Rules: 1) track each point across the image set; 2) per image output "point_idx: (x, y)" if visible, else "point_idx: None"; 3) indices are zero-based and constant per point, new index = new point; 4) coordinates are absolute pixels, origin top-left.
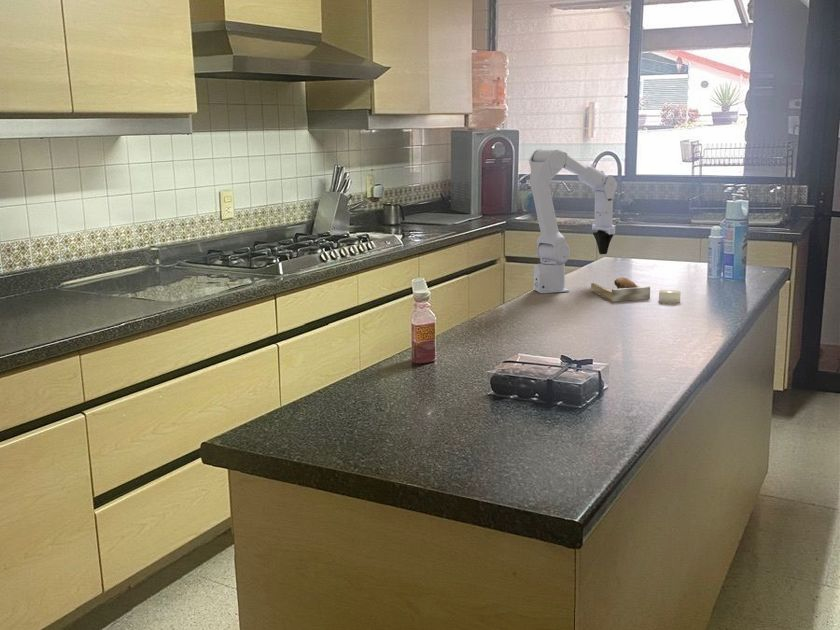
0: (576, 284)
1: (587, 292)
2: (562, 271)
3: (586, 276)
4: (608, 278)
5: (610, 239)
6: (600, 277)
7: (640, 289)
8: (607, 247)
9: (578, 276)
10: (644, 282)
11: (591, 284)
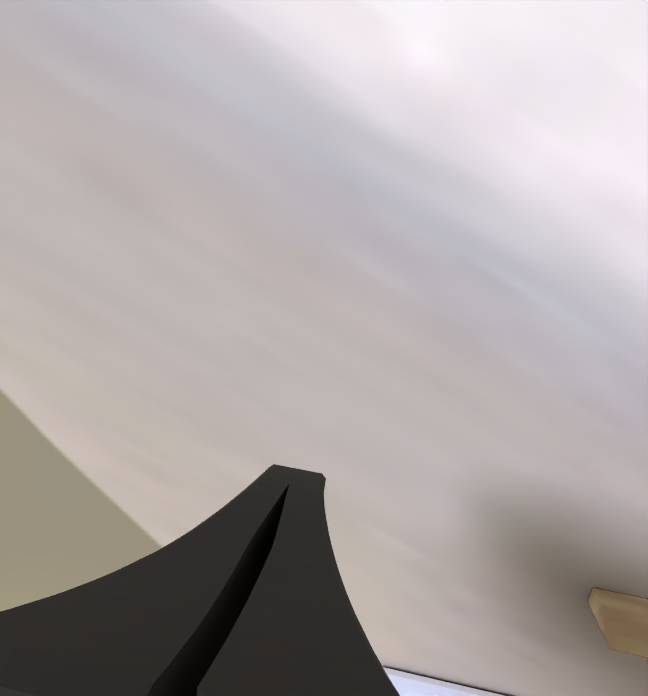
0: None
1: None
2: None
3: (79, 341)
4: (213, 245)
5: (364, 645)
6: (151, 276)
7: None
8: (320, 532)
9: (63, 387)
10: (534, 58)
11: (613, 643)
